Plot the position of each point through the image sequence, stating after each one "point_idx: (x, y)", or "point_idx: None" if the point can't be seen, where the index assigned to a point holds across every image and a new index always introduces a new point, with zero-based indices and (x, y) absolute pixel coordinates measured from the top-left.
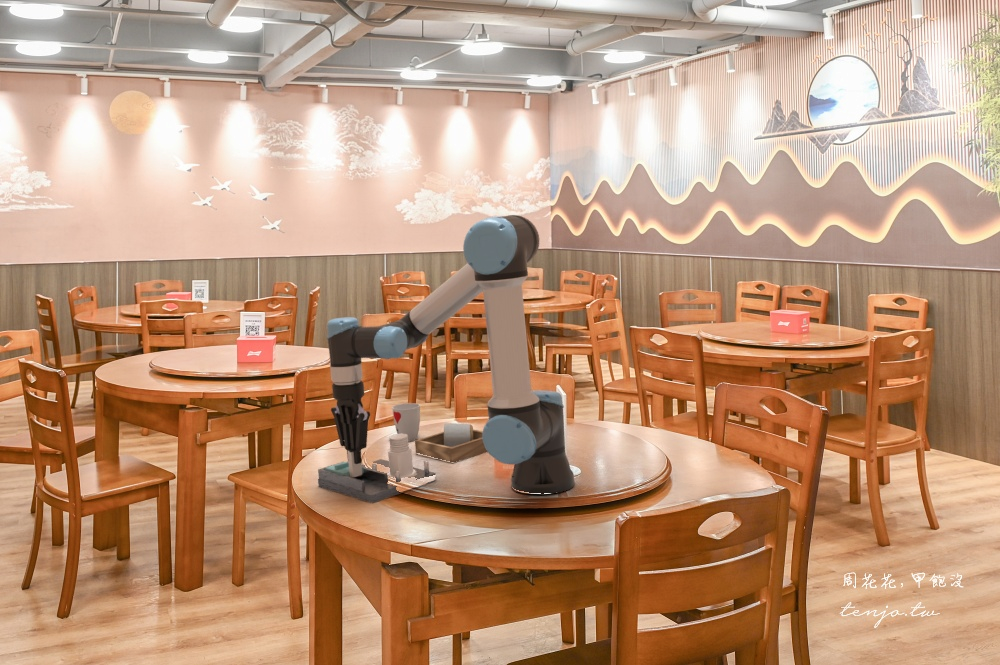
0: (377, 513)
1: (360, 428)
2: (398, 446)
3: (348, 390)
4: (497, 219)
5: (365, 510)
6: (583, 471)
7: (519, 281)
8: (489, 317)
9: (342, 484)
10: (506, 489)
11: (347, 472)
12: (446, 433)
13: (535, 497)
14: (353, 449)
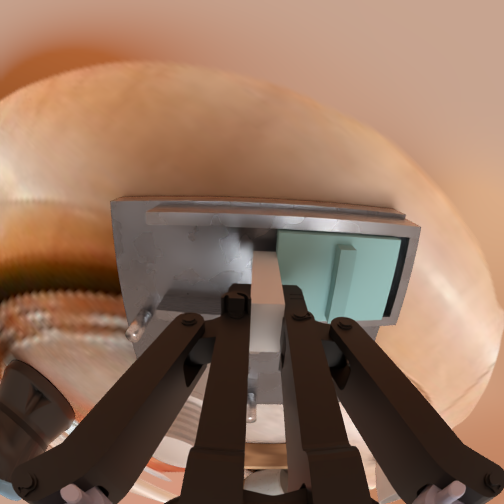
0: (63, 160)
1: (94, 412)
2: None
3: None
4: None
5: (96, 151)
6: (66, 433)
7: None
8: None
9: (273, 208)
10: (45, 373)
11: (277, 249)
12: (276, 488)
13: (9, 356)
14: (228, 313)
